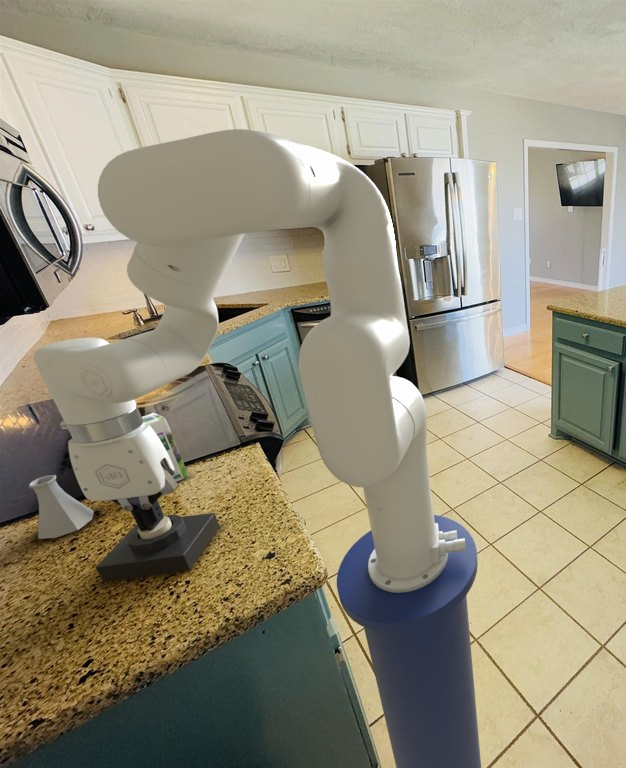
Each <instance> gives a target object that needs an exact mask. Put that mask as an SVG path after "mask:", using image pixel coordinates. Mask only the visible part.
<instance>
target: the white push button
mask: <svg viewBox="0 0 626 768" xmlns="http://www.w3.org/2000/svg"><path fill="white" fill-rule="evenodd" d="M171 527H172V523H171V521H170V519H169V518H168V517H166V516H165V515H164V518H163V519H162V520H161V521H160V523H159V524H158V525H157V526H156V527H155V528H154V529H153V530H146V531H140V529H139V528H138V533H139V535H140V537H141V539H142V540H146V539H152V538H154V537H157V536H160V535H162V534H163V533H165V532H167V531H168V530H170V528H171Z"/></svg>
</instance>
